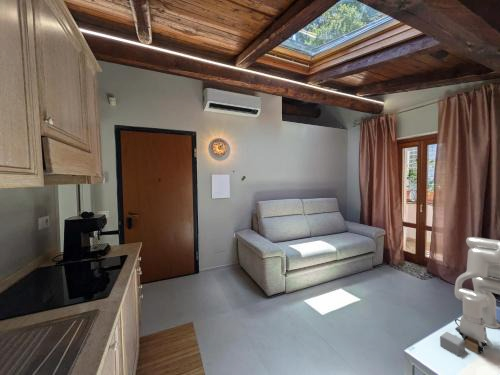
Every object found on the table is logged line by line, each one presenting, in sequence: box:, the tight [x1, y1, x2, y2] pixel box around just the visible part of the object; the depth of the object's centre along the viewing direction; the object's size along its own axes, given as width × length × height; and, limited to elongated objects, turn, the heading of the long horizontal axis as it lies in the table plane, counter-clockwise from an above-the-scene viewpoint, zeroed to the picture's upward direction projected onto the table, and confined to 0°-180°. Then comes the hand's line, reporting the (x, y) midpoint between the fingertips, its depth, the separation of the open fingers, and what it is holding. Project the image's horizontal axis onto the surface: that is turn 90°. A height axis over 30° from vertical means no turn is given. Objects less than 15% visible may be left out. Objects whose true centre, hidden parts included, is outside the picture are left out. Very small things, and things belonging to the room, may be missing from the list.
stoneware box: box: [439, 331, 466, 357], centre depth 119 cm, size 8×8×6 cm
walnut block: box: [465, 336, 480, 355], centre depth 118 cm, size 5×5×5 cm
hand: (473, 348), depth 118 cm, fingers closed on walnut block, 5 cm apart
